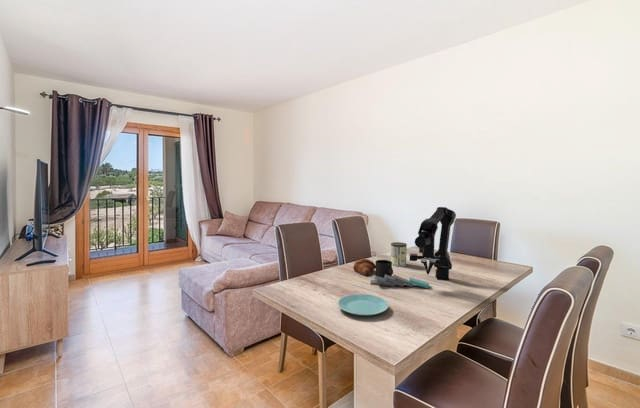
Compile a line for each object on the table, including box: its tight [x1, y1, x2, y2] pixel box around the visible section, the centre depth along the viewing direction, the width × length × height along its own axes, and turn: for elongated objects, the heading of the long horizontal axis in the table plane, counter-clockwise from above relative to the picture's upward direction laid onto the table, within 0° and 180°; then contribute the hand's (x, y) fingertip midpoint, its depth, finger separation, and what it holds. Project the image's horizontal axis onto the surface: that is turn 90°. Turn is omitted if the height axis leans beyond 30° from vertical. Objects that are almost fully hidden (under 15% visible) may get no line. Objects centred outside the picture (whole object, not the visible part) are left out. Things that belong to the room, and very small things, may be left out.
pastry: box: [352, 258, 376, 277], centre depth 191 cm, size 17×15×8 cm
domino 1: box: [370, 279, 390, 287], centre depth 168 cm, size 2×5×10 cm
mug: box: [374, 259, 394, 278], centre depth 178 cm, size 9×12×9 cm
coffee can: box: [390, 241, 408, 267], centre depth 206 cm, size 10×10×14 cm
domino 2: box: [373, 275, 396, 287], centre depth 165 cm, size 2×5×10 cm
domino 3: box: [384, 274, 405, 288], centre depth 165 cm, size 2×5×10 cm
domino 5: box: [408, 277, 430, 289], centre depth 163 cm, size 2×5×10 cm
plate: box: [337, 293, 390, 317], centre depth 135 cm, size 22×22×3 cm
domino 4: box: [392, 274, 414, 288], centre depth 165 cm, size 2×5×10 cm
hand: (427, 274), depth 161 cm, fingers closed
